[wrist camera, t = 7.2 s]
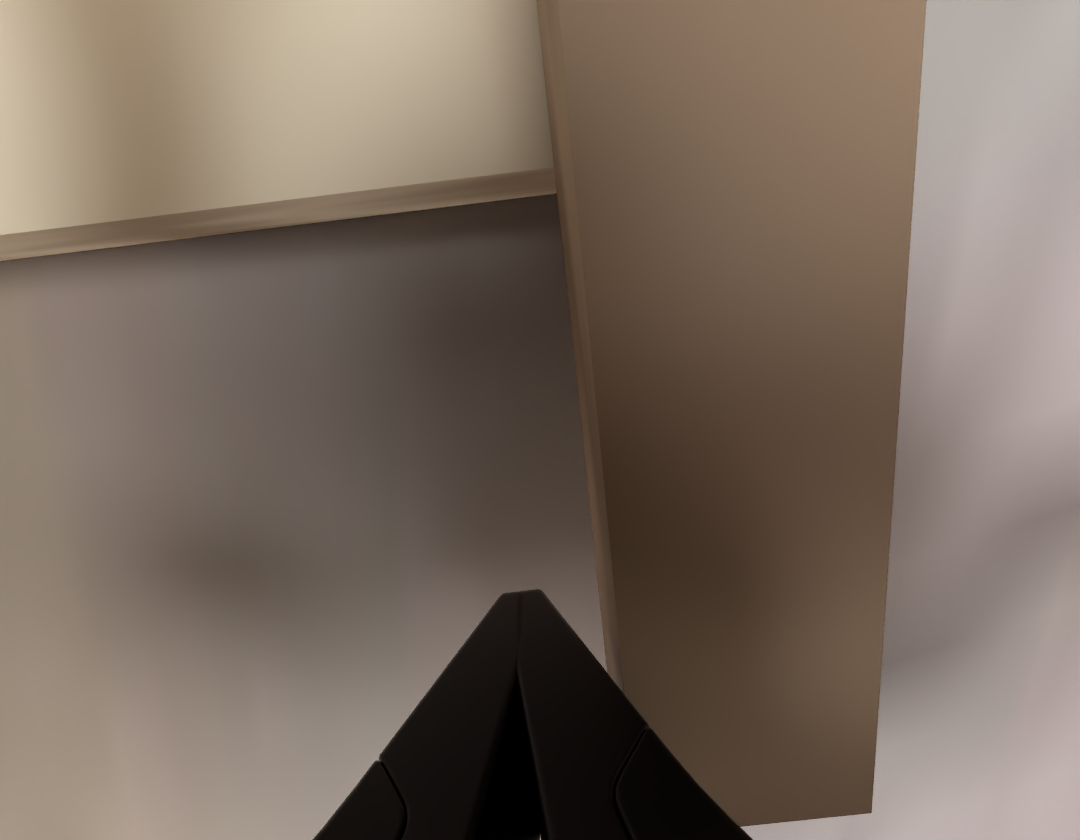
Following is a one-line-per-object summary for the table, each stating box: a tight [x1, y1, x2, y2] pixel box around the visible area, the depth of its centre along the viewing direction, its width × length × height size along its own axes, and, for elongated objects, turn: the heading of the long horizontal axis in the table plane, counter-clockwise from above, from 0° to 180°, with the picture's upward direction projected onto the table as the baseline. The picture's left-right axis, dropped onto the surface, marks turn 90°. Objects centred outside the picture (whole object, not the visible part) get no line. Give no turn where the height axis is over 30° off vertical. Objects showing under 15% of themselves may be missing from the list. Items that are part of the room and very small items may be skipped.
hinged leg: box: [537, 0, 926, 827], centre depth 7 cm, size 12×3×3 cm, turn 7°
